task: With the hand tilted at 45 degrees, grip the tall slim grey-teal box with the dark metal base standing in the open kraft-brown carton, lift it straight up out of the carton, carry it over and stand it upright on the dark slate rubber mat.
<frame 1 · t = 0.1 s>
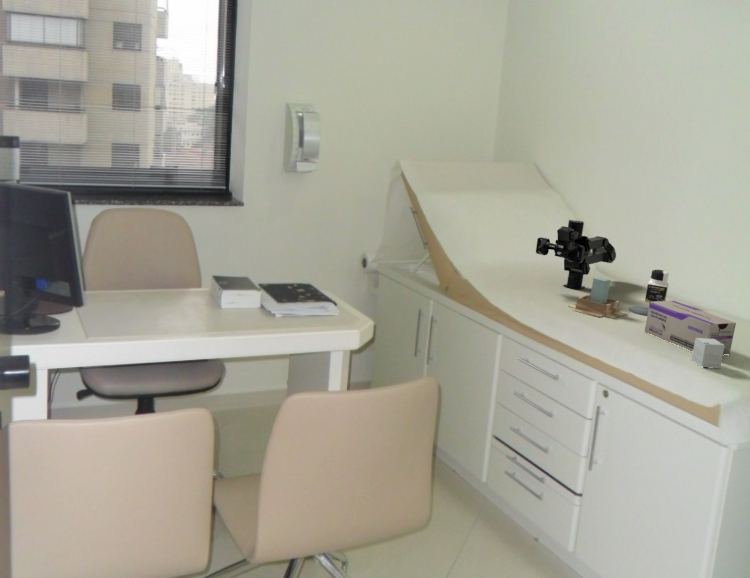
hand: (549, 252, 302), 17 cm above the table, tool horizontal, fingers open, 9 cm apart
slim box: (599, 294, 290), in the carton
carton: (596, 310, 292), on the table
surgical sutures box: (685, 344, 261), on the table
medicine bottle: (655, 301, 315), on the table
mat: (643, 311, 297), on the table
skincare box: (705, 365, 241), on the table
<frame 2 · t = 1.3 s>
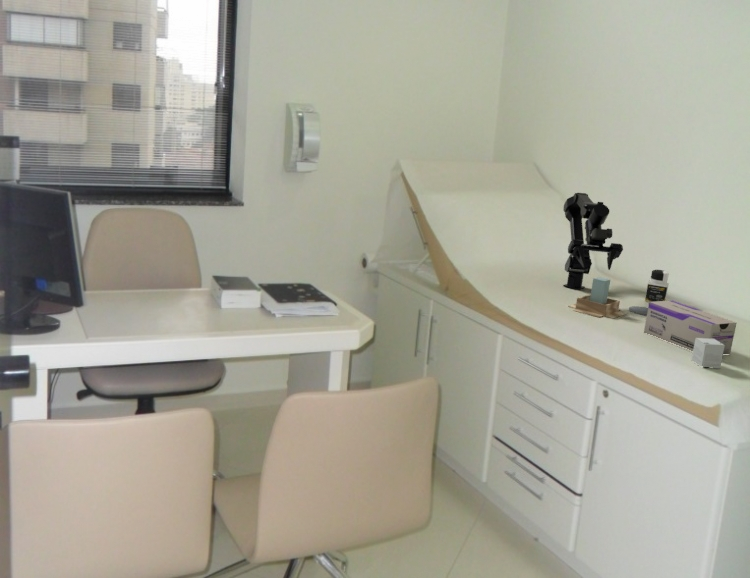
hand: (596, 268, 296), 14 cm above the table, tool tilted 45°, fingers open, 9 cm apart
nothing on the table moved.
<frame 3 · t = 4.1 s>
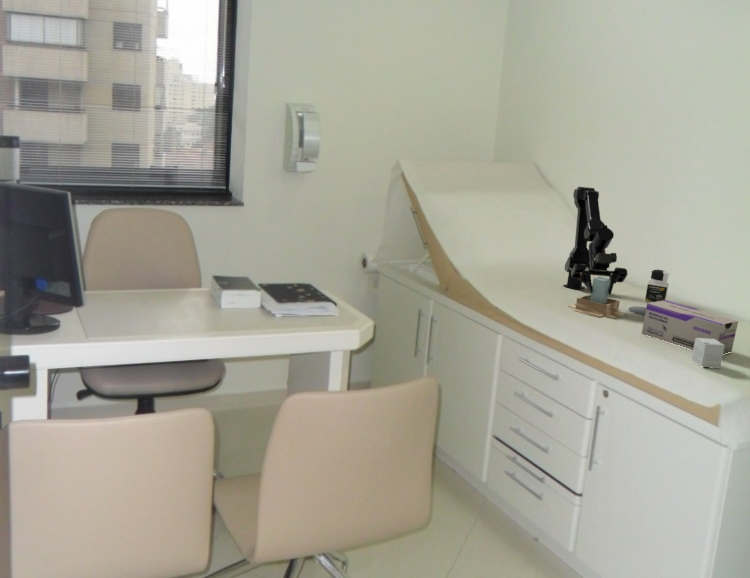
hand: (600, 293, 289), 7 cm above the table, tool tilted 45°, fingers closed on slim box, 6 cm apart
slim box: (599, 294, 290), in the carton, touching gripper
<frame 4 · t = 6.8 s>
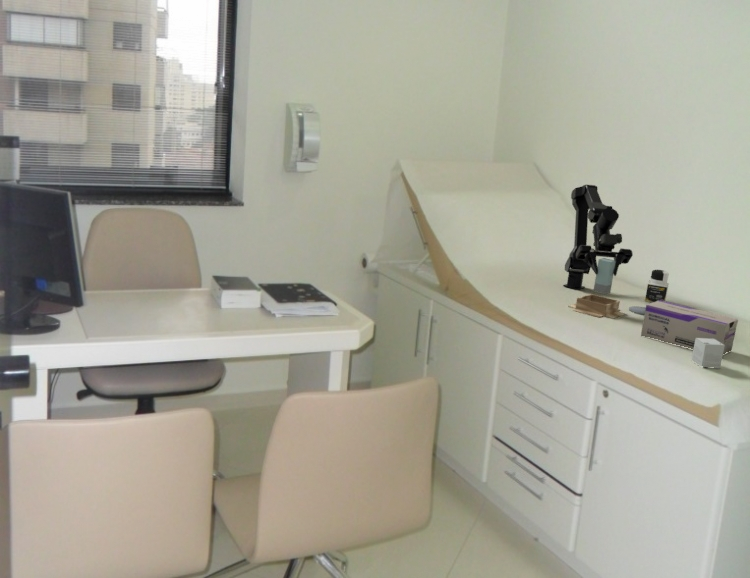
hand: (606, 274, 287), 13 cm above the table, tool tilted 45°, fingers closed on slim box, 6 cm apart
slim box: (604, 276, 289), point 13 cm above the table, touching gripper
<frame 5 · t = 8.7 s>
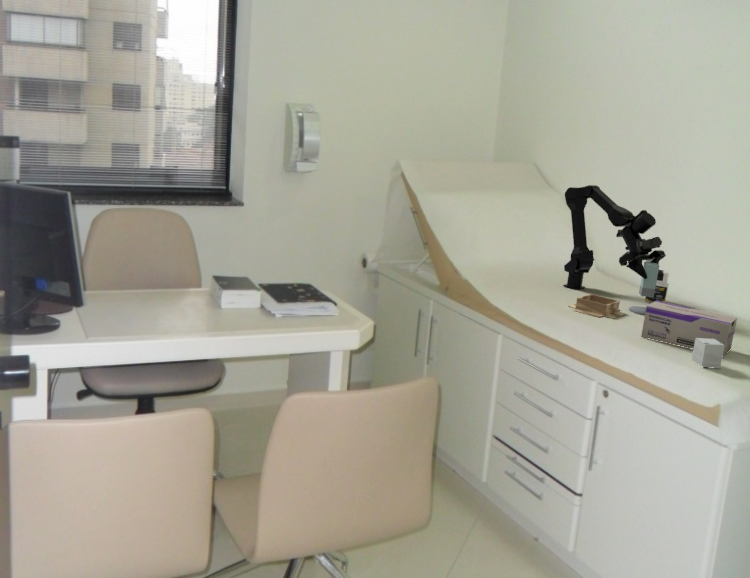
hand: (652, 278, 292), 13 cm above the table, tool tilted 45°, fingers closed on slim box, 6 cm apart
slim box: (649, 279, 294), point 12 cm above the table, touching gripper
when the fingers open (9 cm above the table, at t = 10.0 s): slim box drops 1 cm, resting on mat.
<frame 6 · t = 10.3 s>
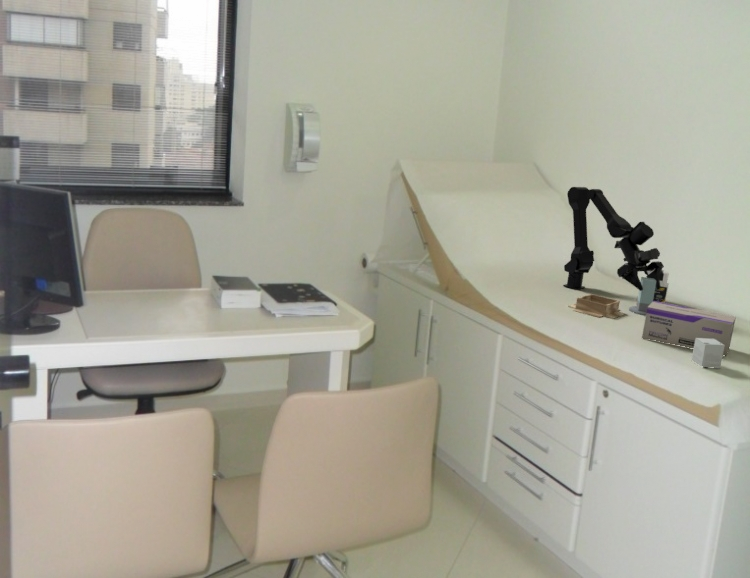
hand: (650, 289, 293), 9 cm above the table, tool tilted 45°, fingers open, 9 cm apart
slim box: (646, 294, 295), on the mat, point 6 cm above the table
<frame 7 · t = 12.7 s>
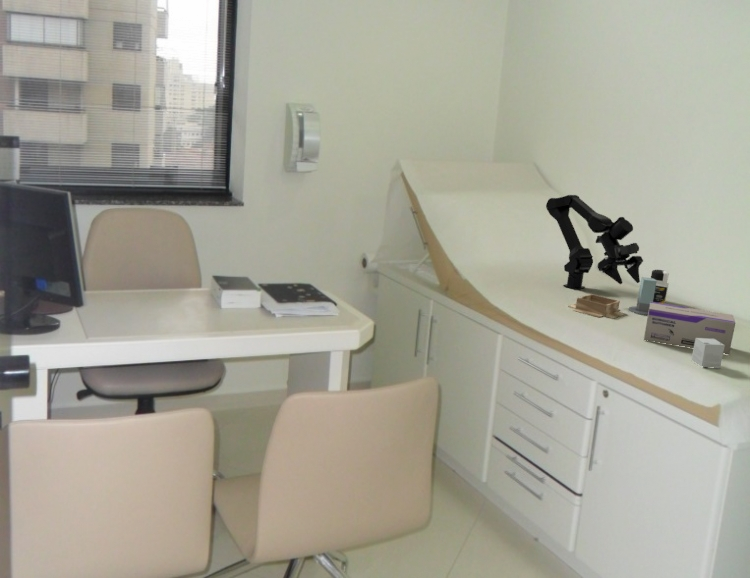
hand: (630, 283, 301), 9 cm above the table, tool tilted 45°, fingers open, 9 cm apart
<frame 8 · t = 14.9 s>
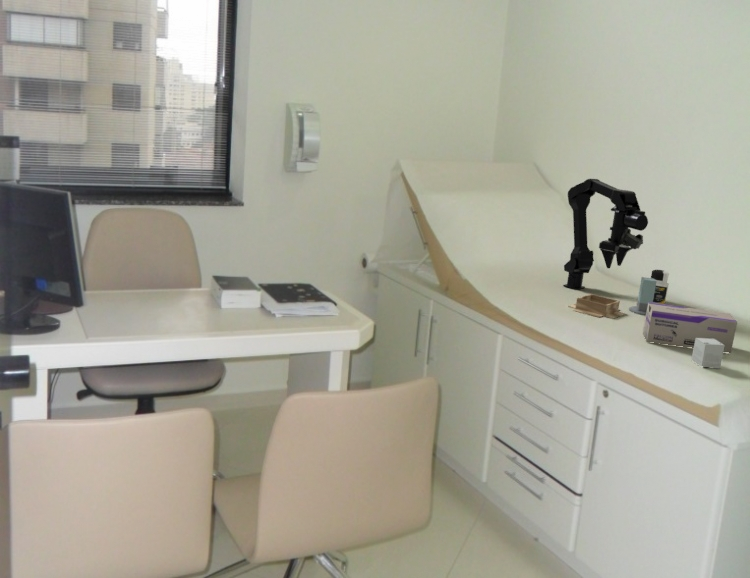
hand: (613, 266, 305), 13 cm above the table, tool pointing down, fingers open, 9 cm apart
at the end: slim box 0.1 cm off-centre on the mat, point 6.3 cm above the mat's base; slim box tilted 0°; the gripper is holding nothing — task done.
